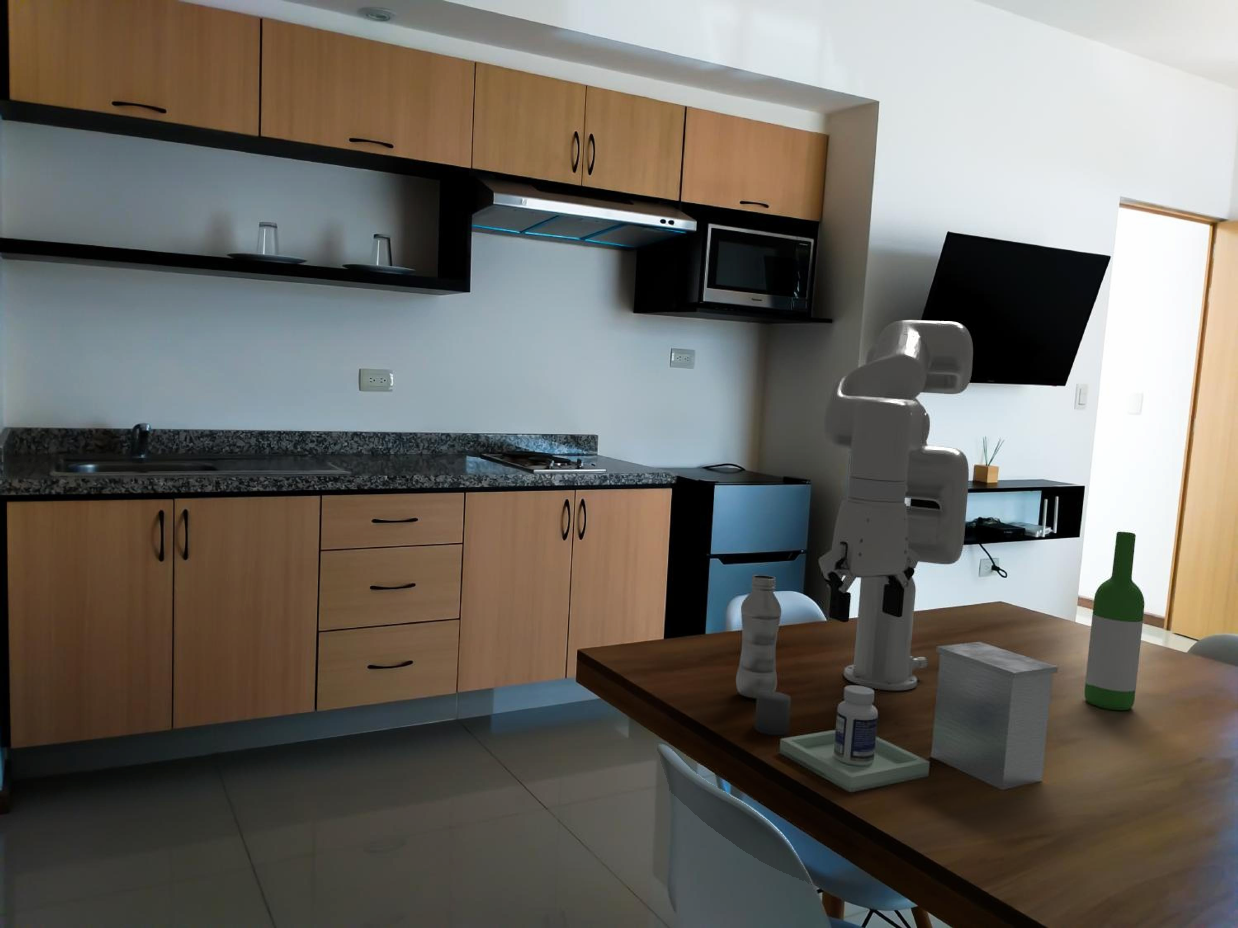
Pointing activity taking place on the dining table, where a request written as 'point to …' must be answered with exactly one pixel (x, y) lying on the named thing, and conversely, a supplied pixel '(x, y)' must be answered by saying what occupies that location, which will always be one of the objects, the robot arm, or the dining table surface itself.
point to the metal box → (992, 713)
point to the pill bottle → (856, 727)
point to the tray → (883, 771)
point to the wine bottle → (1116, 633)
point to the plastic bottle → (759, 638)
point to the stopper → (772, 713)
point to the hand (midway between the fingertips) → (865, 617)
